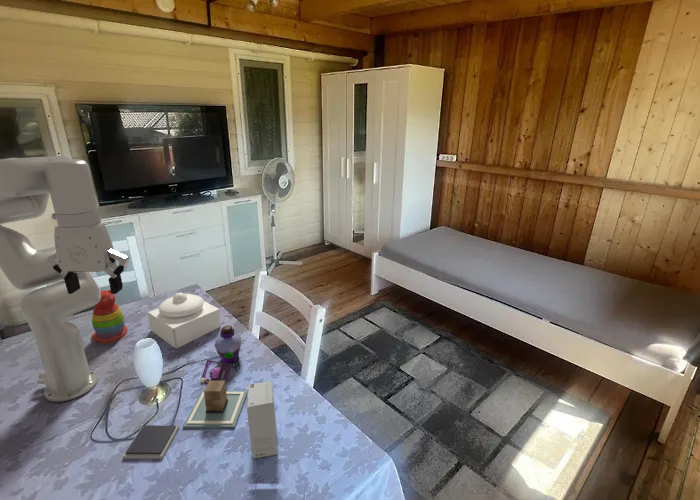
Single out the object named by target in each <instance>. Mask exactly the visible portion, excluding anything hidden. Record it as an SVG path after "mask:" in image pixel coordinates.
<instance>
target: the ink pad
mask: <svg viewBox="0 0 700 500" xmlns="http://www.w3.org/2000/svg"><path fill="white" fill-rule="evenodd" d="M179 429H180V425H155V424H154V425H142V426H141V427H140V429H139V431H137V433H136V435H135V437H133V439H132V441H131V442H130V444H129V445H128V447H127V448H126V450H125V451H124V453H123V455H122V459H125V460H127V459H129V460H136V459H138V460H141V459H142V460H143V459H144V460H151V459H152V460H156V459H157V460H159V459H160V460H163V459H164V457H165V454H166V453H167V451H168V450H169V448H170V446H171V444H172V442H173V441H174V438H175V437H176V436H177V433H178V431H179Z"/></svg>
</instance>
